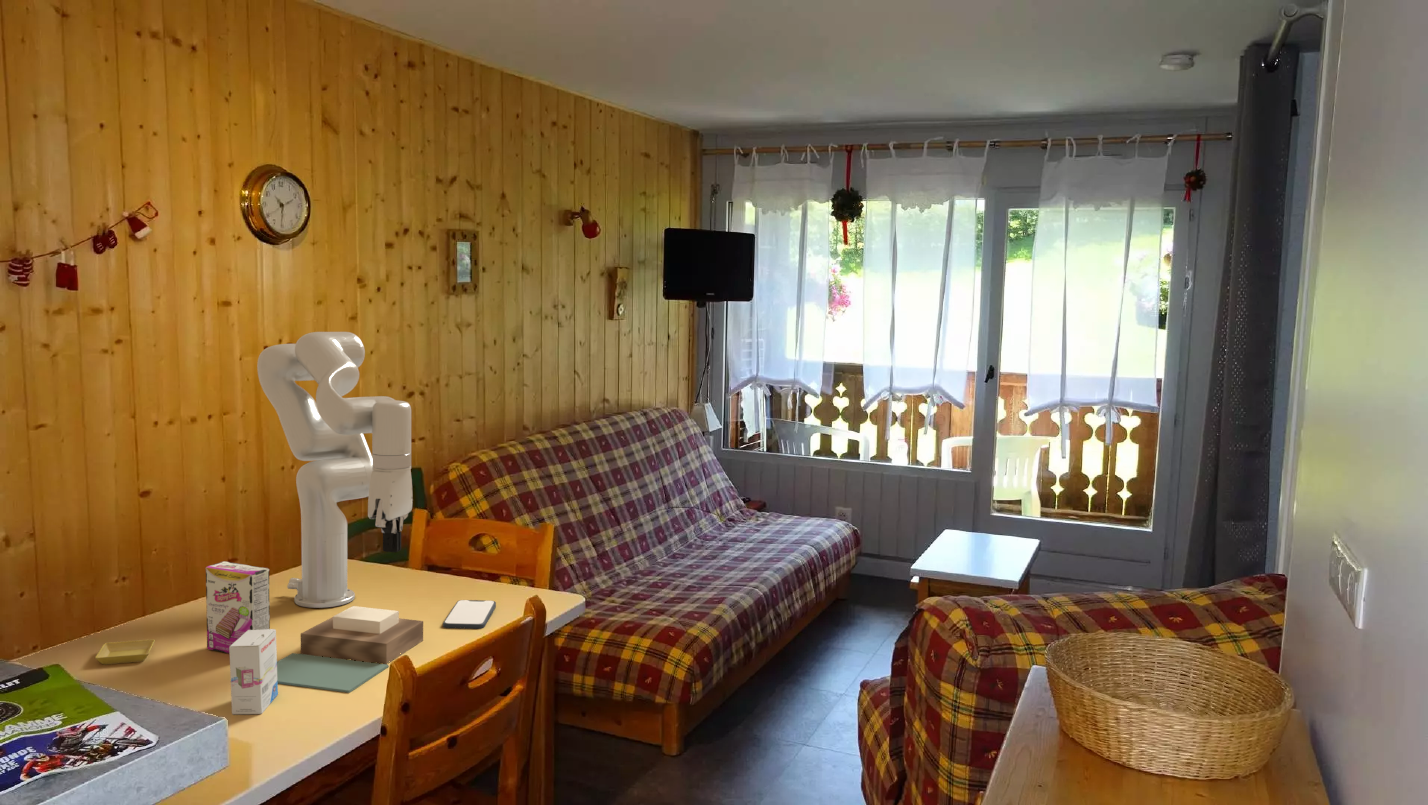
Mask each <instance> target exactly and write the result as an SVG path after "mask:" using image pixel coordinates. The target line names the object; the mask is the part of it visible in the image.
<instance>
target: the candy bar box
mask: <svg viewBox="0 0 1428 805" xmlns="http://www.w3.org/2000/svg"><path fill="white" fill-rule="evenodd" d="M205 596H206V598H205V599H206V601H205V603H206V649H207V650H211V651H215V652H219V653H225V654H230V652H229V647H230V646H231V645H232V644H233V643H234V642H235V641H236V640H238V639H239V638H240V637H241V636H242V635H243V634H244V633H245V632H246V631H248V630H263V629H271V622H270V618H271V616H270V609H271V608H270V607H271V606H270V568H268V567H260V566H252V565H248V564H243V563H236V562H232V561H231V562H230V561H220V562H217V563H214V564H211V565H208V566H206V567H205Z"/></svg>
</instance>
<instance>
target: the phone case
mask: <svg viewBox="0 0 1428 805" xmlns="http://www.w3.org/2000/svg"><path fill="white" fill-rule="evenodd" d="M496 607H497V602H496V600H495V601H494V600H480V599H474V600H472V599H460V600H457V601H456V602H455V604H454V605H453V607H452V609H450V612H449V613H448V614H447V616H446V618H445V619H444V620H443V622H442V627H443V628H444V629H459V630H460V629H462V630H463V629H464V630H466V629H467V630H470V629H471V630H481V629H484V628H485V627H486V625H487V624H488V622H489V621H490V618H491V617H492V615H493V613H494V611H495V609H496Z"/></svg>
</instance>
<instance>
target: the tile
mask: <svg viewBox="0 0 1428 805" xmlns="http://www.w3.org/2000/svg"><path fill="white" fill-rule="evenodd" d="M332 617H333V629H342V630H351V631H359V632H368V633H377V634H381V633H382V632H384V631H386V630H387V629H389V628H391V627H392V626H394V625H396V624H397V623H399V618H400V616H399V610H393V609H392V610H391V609H382V608H375V607H365V606H358V605H352V606H351V607H349V608H346V609H345V610H343V611H341V612H338V613H337V614H334V615H332Z"/></svg>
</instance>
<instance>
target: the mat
mask: <svg viewBox="0 0 1428 805" xmlns="http://www.w3.org/2000/svg"><path fill="white" fill-rule="evenodd" d="M388 668H389V664H379V663H371V662H362V661H354V660H346V659H338V658H330V657H322V656H314V655H305V654H301V653H296V652H292V653H291V654H289V655H287V656H285V657H282V658H281V659H279V660H277V683H278V684H279V685H286V686H287V685H288V686H293V687H294V686H296V687H303V688H309V689H310V688H311V689H317V690H318V689H319V690H324V691H325V690H326V691H333V692H341V693H348V694H349V693H352V692H354V690H356V689H357V688H359V687H360V686H362V685H363V684H365V683H366V682H368V681H369V680H371V679H372V678H374V677H376V676H377V675H379V674H380V673H381V672H383V671H385V670H386V669H388Z"/></svg>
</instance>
